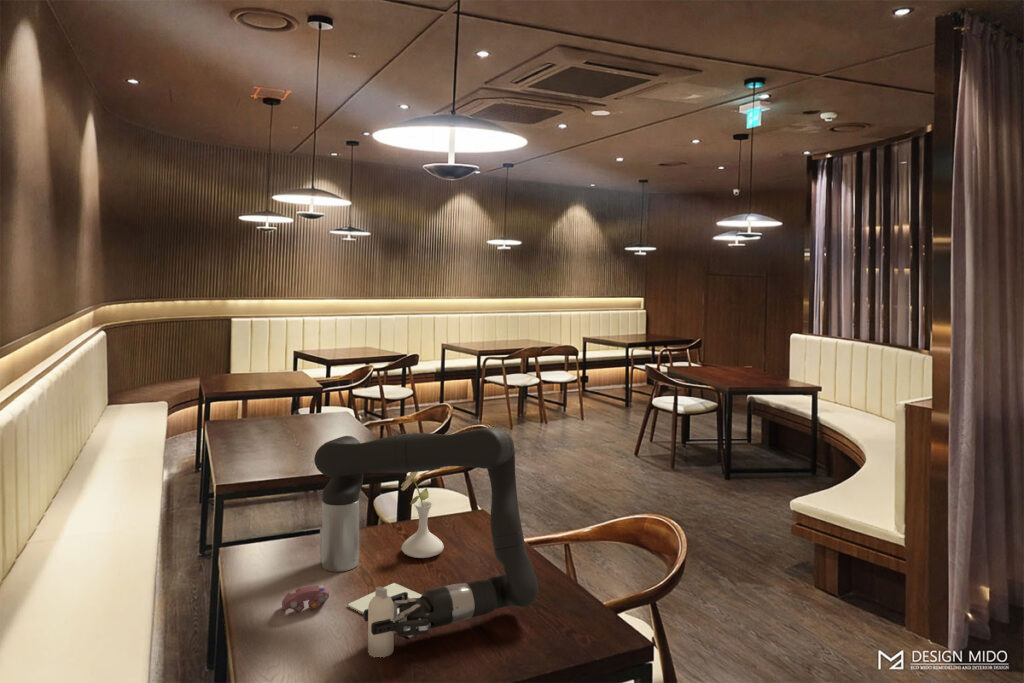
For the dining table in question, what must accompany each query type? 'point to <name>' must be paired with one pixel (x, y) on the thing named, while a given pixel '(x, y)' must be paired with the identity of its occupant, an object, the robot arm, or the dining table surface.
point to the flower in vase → (421, 527)
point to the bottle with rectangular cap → (379, 611)
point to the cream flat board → (391, 591)
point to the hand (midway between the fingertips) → (368, 622)
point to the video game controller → (305, 597)
